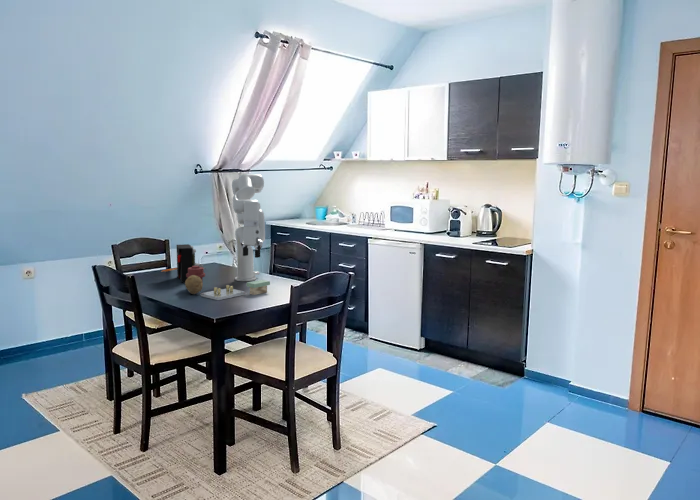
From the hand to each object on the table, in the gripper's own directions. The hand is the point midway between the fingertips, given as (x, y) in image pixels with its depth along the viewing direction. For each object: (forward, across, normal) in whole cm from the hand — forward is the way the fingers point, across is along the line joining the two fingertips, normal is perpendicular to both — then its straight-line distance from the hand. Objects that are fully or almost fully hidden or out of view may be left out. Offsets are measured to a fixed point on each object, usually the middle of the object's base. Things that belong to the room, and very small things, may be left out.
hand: (251, 256), depth 287 cm
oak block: (+20, -2, -2) cm, 20 cm away
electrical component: (+19, +56, +3) cm, 60 cm away
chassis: (+20, +6, +14) cm, 25 cm away
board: (+16, -2, -2) cm, 16 cm away
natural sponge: (+20, +20, +22) cm, 36 cm away
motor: (+19, +81, -11) cm, 84 cm away
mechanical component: (+20, +31, +13) cm, 39 cm away
